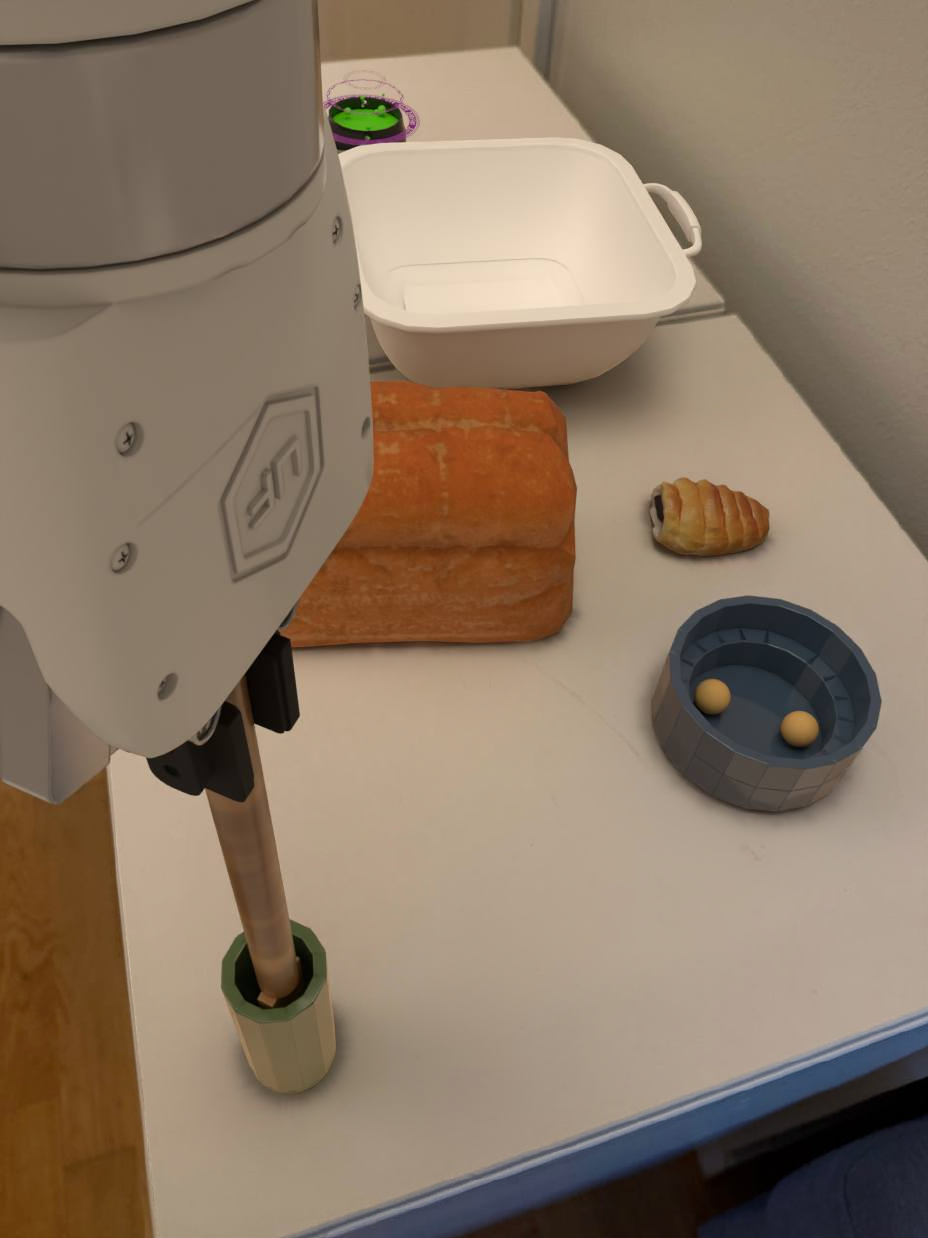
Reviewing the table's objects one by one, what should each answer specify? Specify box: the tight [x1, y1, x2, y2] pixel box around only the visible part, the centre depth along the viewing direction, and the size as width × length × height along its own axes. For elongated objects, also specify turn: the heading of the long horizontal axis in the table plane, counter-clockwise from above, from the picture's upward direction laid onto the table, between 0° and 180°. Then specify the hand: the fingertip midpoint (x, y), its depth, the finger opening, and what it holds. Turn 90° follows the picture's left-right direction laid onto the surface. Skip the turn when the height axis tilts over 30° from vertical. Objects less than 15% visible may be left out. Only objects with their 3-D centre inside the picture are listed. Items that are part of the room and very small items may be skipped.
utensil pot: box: [220, 918, 337, 1095], centre depth 49 cm, size 5×5×12 cm
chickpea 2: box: [781, 711, 819, 747], centre depth 67 cm, size 2×2×2 cm
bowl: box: [651, 595, 882, 812], centre depth 66 cm, size 13×13×6 cm
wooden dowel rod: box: [204, 674, 305, 1009], centre depth 37 cm, size 2×2×30 cm
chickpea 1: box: [694, 679, 731, 714], centre depth 68 cm, size 2×2×2 cm
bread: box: [280, 380, 578, 648], centre depth 69 cm, size 14×27×15 cm, turn 94°
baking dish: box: [338, 136, 703, 390], centre depth 89 cm, size 34×28×13 cm
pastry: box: [649, 476, 770, 557], centre depth 79 cm, size 9×7×4 cm
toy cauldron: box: [323, 69, 421, 154], centre depth 106 cm, size 15×15×11 cm
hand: (225, 740), depth 29 cm, fingers closed on wooden dowel rod, 1 cm apart
